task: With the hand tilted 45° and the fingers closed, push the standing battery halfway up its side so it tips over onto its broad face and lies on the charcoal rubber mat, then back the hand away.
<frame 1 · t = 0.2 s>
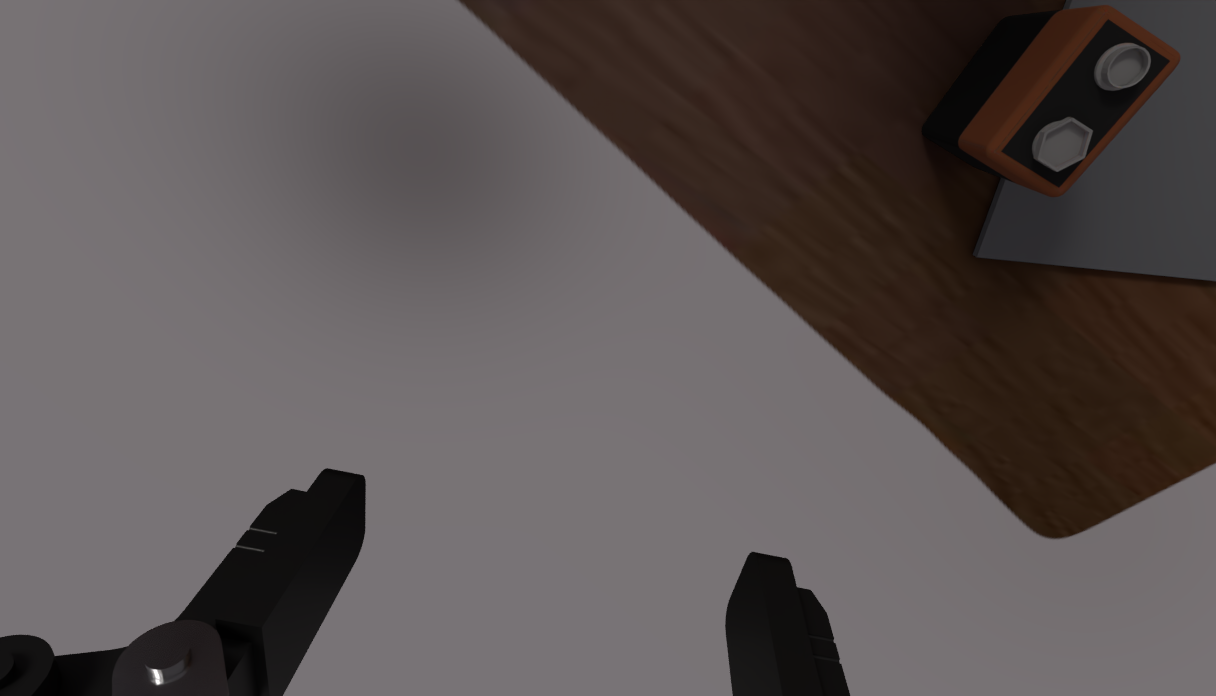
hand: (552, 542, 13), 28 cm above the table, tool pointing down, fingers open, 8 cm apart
rubber mat: (1208, 78, 34), on the table
battery: (987, 94, 35), on the table, touching rubber mat
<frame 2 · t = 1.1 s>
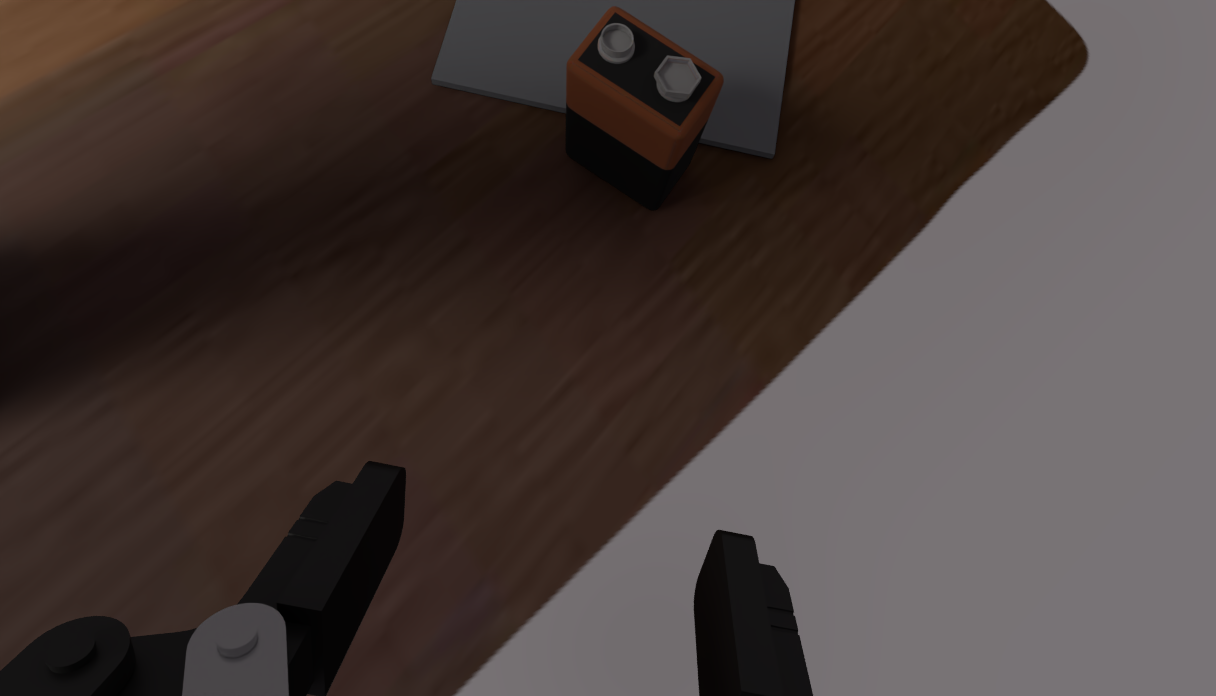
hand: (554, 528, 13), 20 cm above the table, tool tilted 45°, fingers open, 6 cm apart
rubber mat: (629, 6, 42), on the table
battery: (627, 160, 39), on the table, touching rubber mat
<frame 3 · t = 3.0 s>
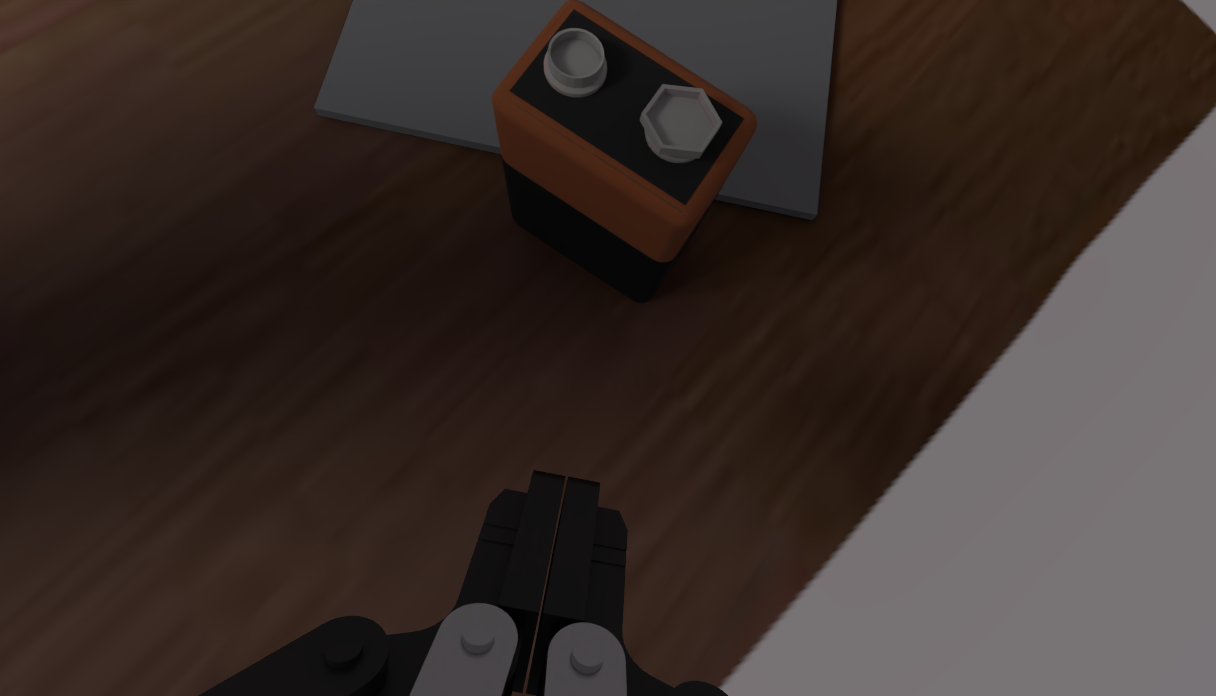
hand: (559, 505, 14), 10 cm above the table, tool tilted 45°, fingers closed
rubber mat: (606, 1, 30), on the table
battery: (603, 226, 27), on the table, touching rubber mat
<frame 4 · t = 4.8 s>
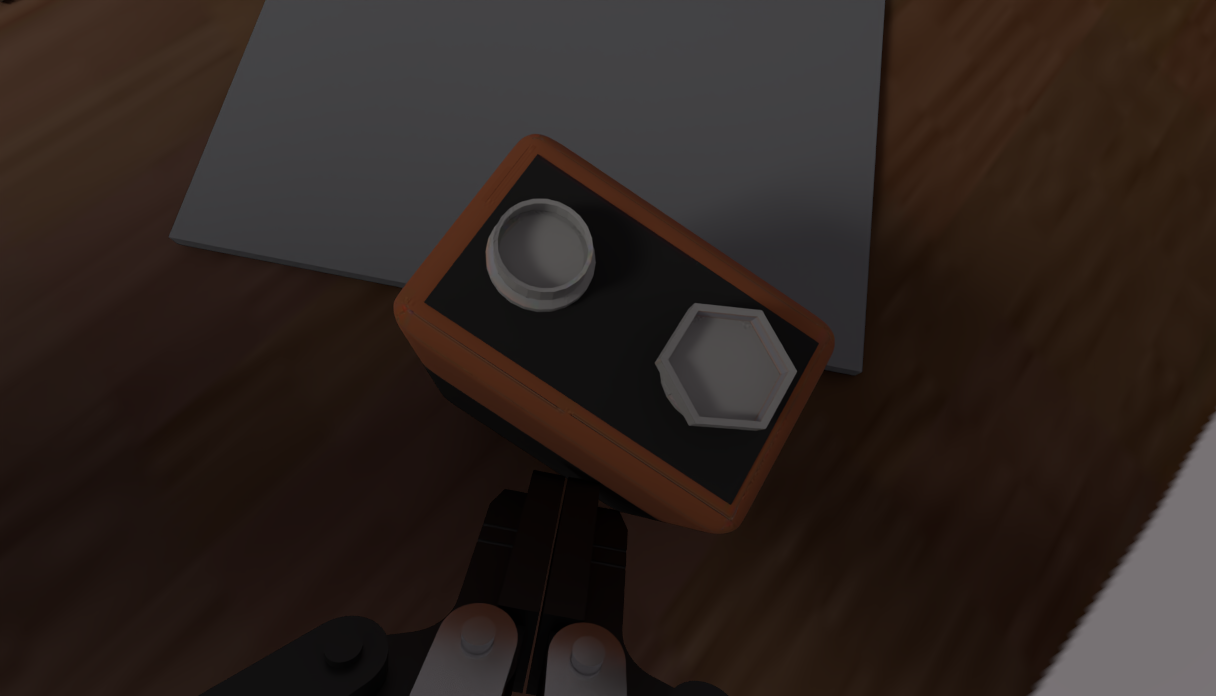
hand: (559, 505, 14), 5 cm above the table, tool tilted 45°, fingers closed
rubber mat: (576, 73, 23), on the table
battery: (568, 395, 19), on the table, touching rubber mat
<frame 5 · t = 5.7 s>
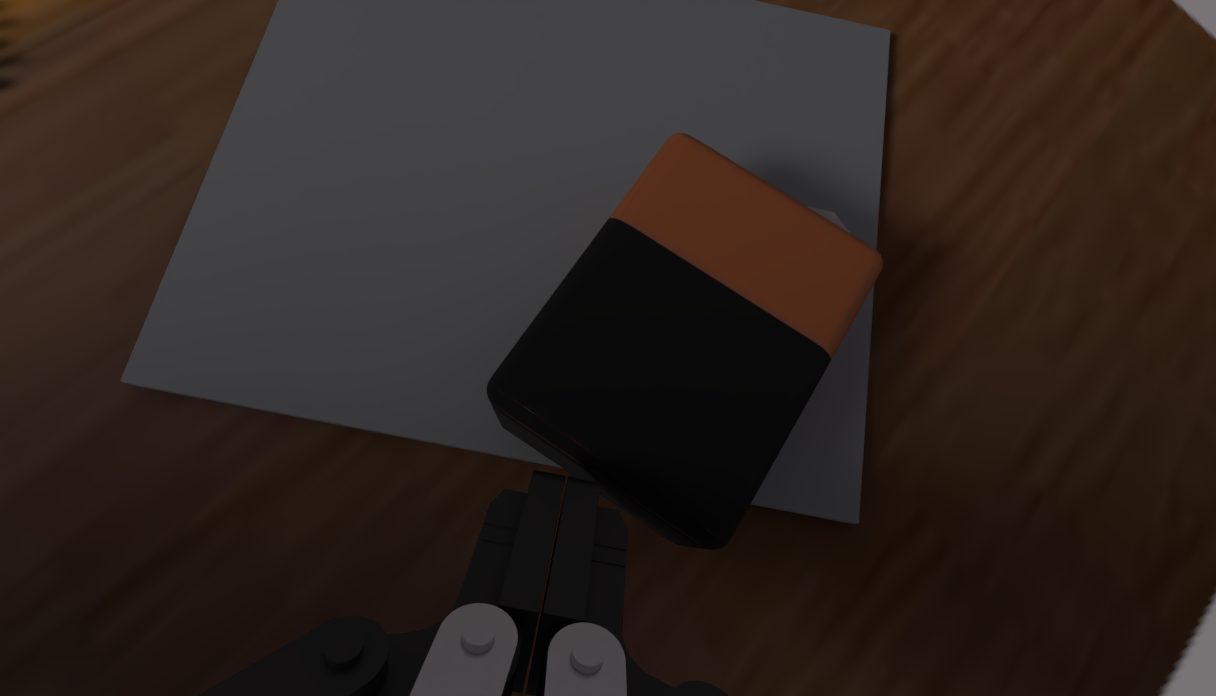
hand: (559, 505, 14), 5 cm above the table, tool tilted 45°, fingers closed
rubber mat: (559, 188, 22), on the table
battery: (587, 487, 16), point 3 cm above the table, touching rubber mat
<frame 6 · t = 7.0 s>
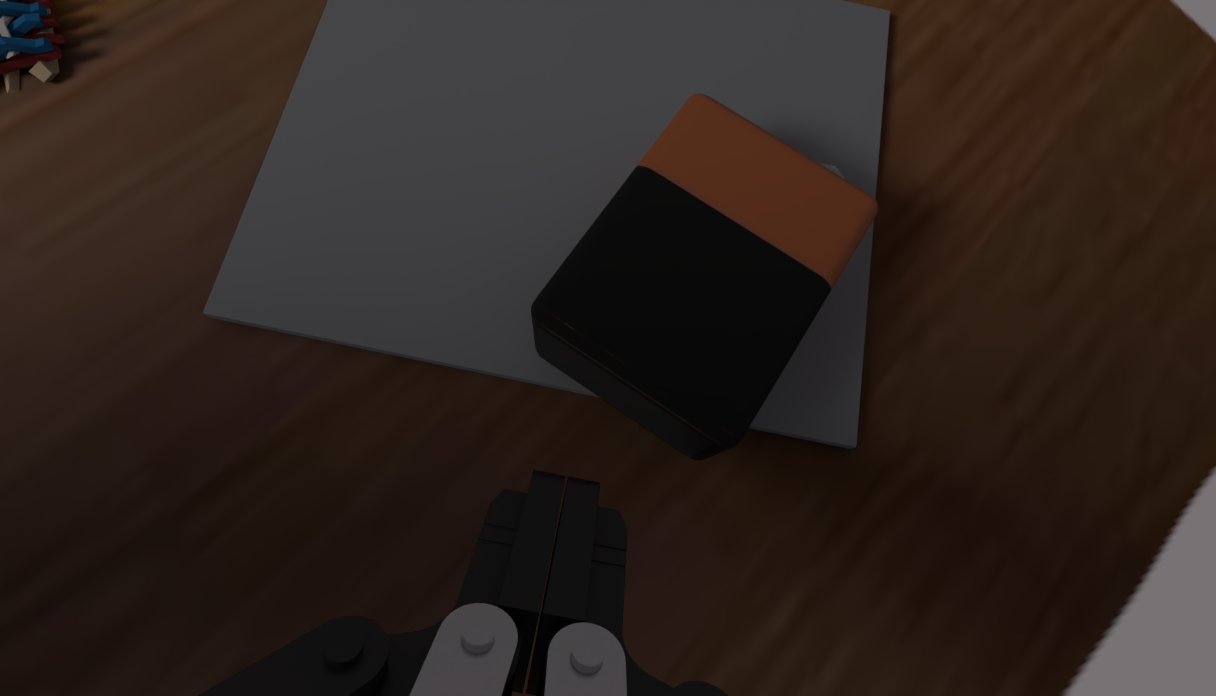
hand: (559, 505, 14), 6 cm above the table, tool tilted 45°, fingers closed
rubber mat: (587, 151, 24), on the table
battery: (615, 402, 19), point 3 cm above the table, touching rubber mat
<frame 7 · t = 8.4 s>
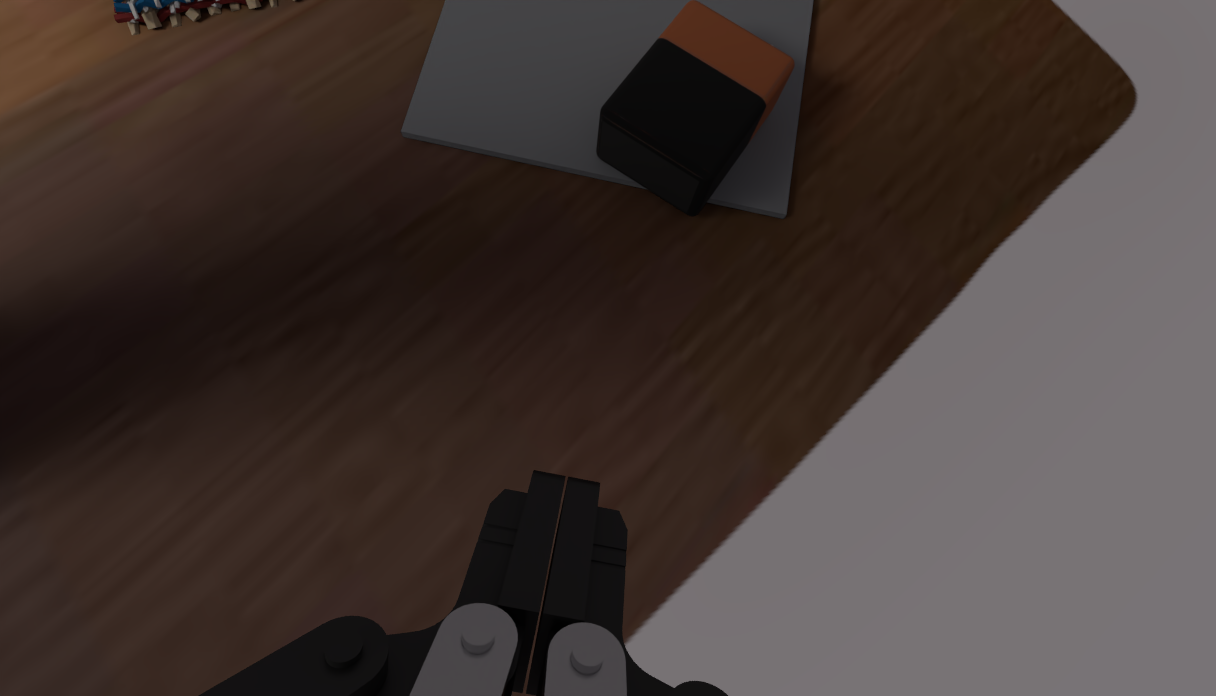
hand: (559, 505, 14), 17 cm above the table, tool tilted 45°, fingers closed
rubber mat: (624, 47, 38), on the table
battery: (645, 171, 33), point 3 cm above the table, touching rubber mat
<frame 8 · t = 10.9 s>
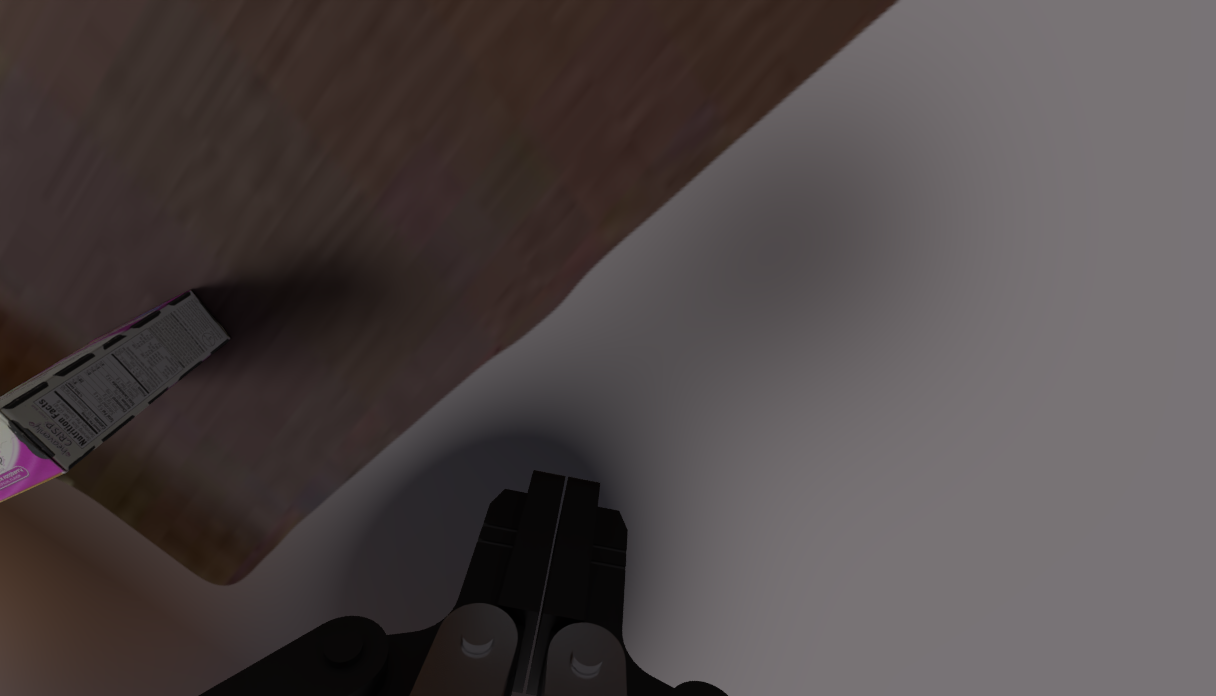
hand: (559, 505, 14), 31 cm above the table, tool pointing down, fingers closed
candy bar box: (166, 338, 50), on the table
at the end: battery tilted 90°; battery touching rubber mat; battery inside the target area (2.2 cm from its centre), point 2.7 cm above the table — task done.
